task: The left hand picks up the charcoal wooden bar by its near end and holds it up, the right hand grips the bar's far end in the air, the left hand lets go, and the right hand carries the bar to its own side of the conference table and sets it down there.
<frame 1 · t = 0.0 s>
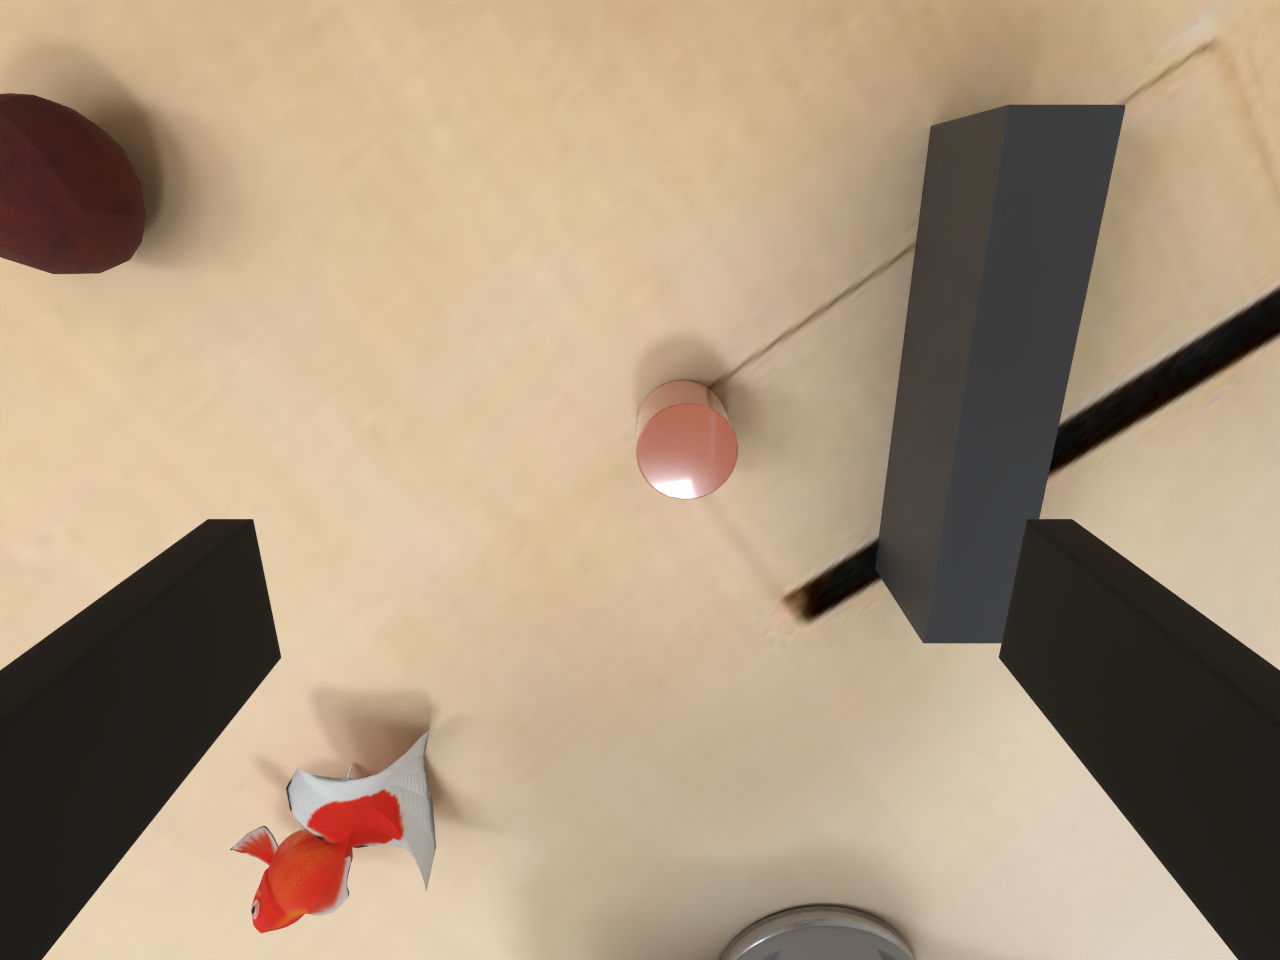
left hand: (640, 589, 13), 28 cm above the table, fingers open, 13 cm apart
dark red round piece: (104, 192, 36), on the table
glossy pink cylinder: (681, 424, 41), on the table
bar: (941, 370, 40), on the table
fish: (363, 780, 49), on the table
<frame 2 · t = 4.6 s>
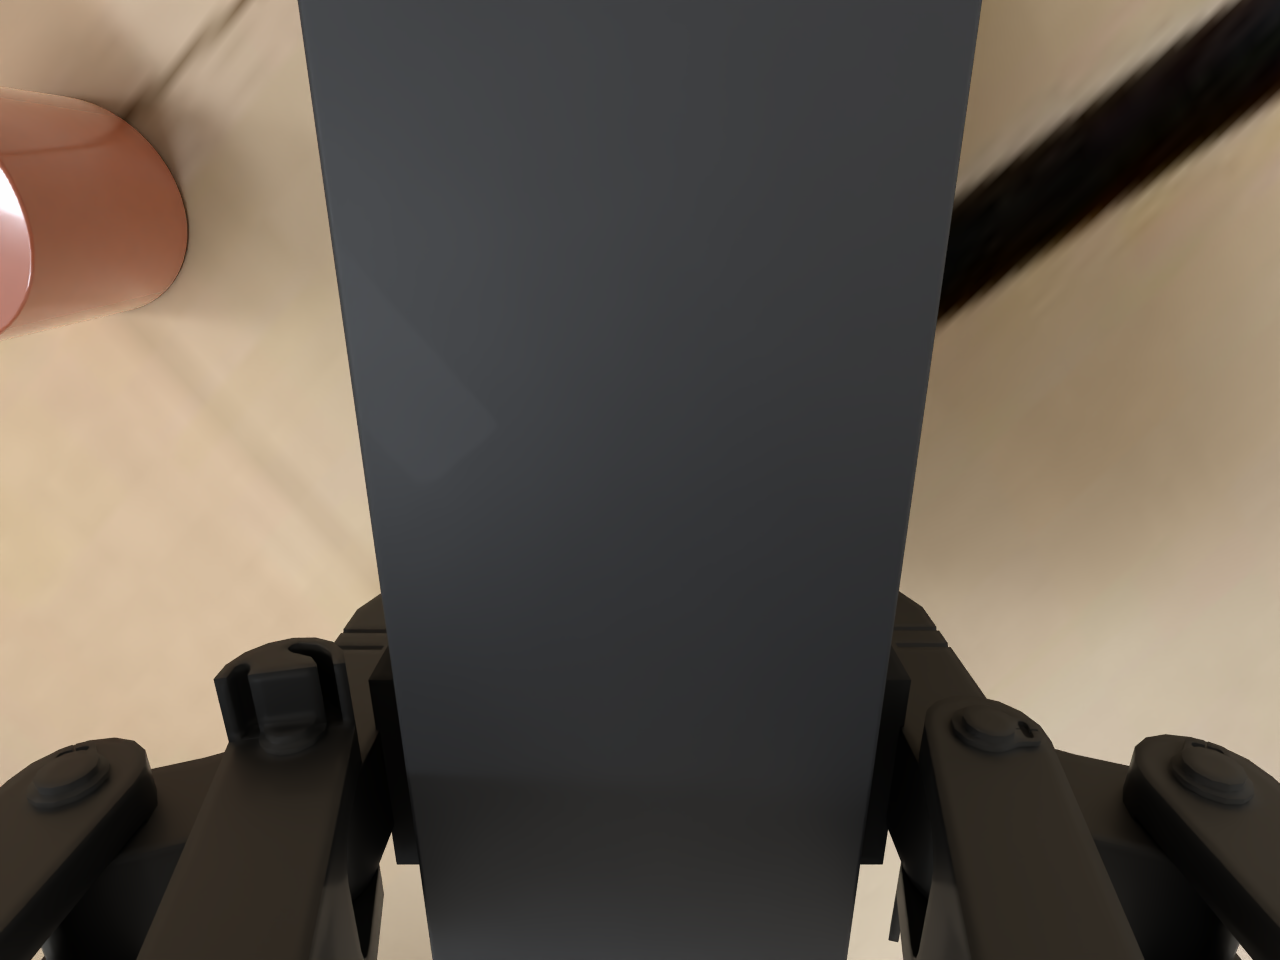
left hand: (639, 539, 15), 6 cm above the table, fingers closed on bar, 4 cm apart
glossy pink cylinder: (85, 209, 18), on the table
bar: (639, 61, 12), point 6 cm above the table, touching left hand
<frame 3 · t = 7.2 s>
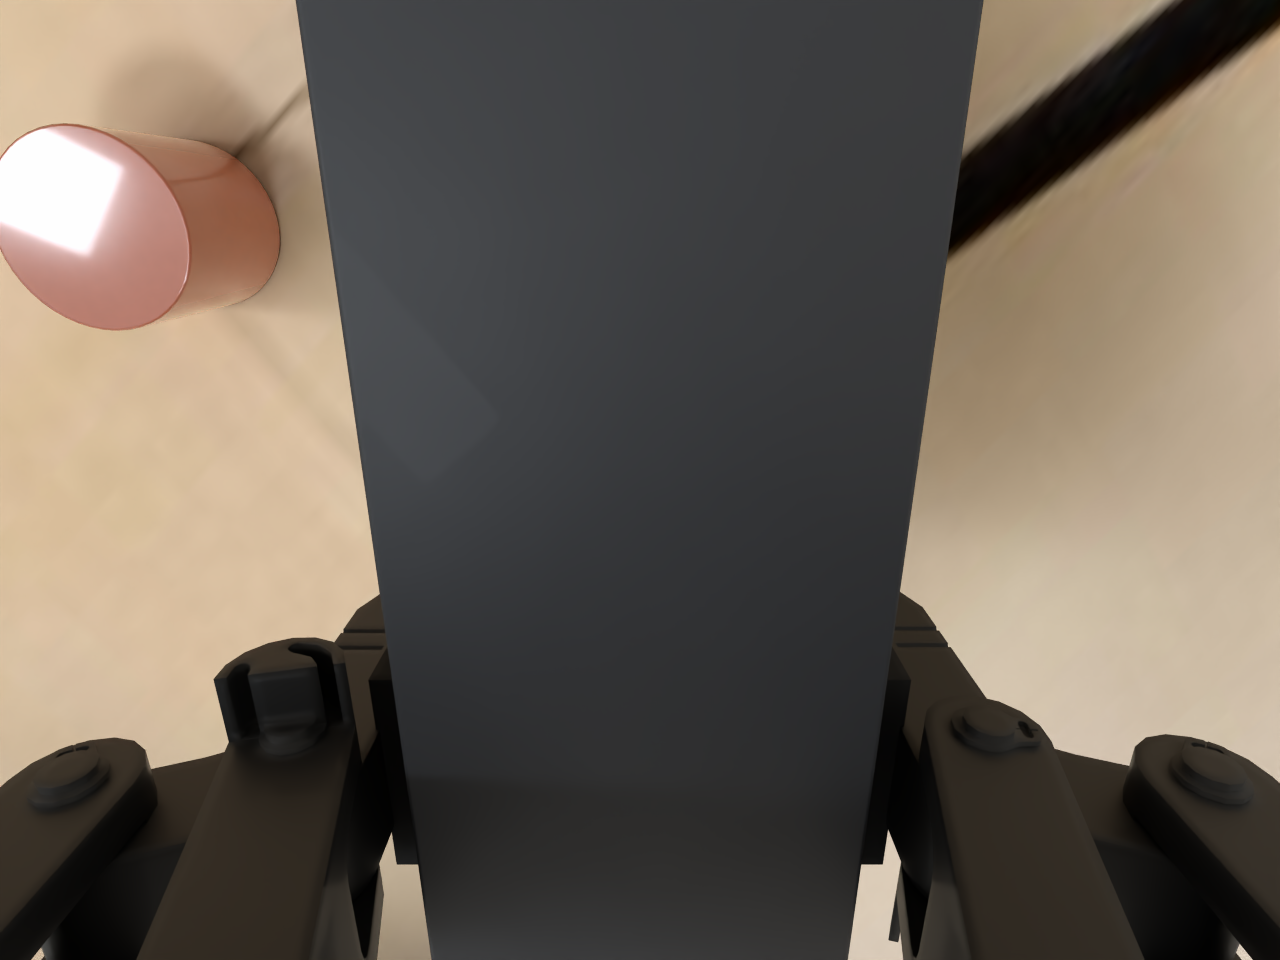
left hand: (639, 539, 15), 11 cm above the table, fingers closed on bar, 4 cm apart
glossy pink cylinder: (200, 226, 23), on the table
bar: (639, 60, 12), point 11 cm above the table, touching left hand
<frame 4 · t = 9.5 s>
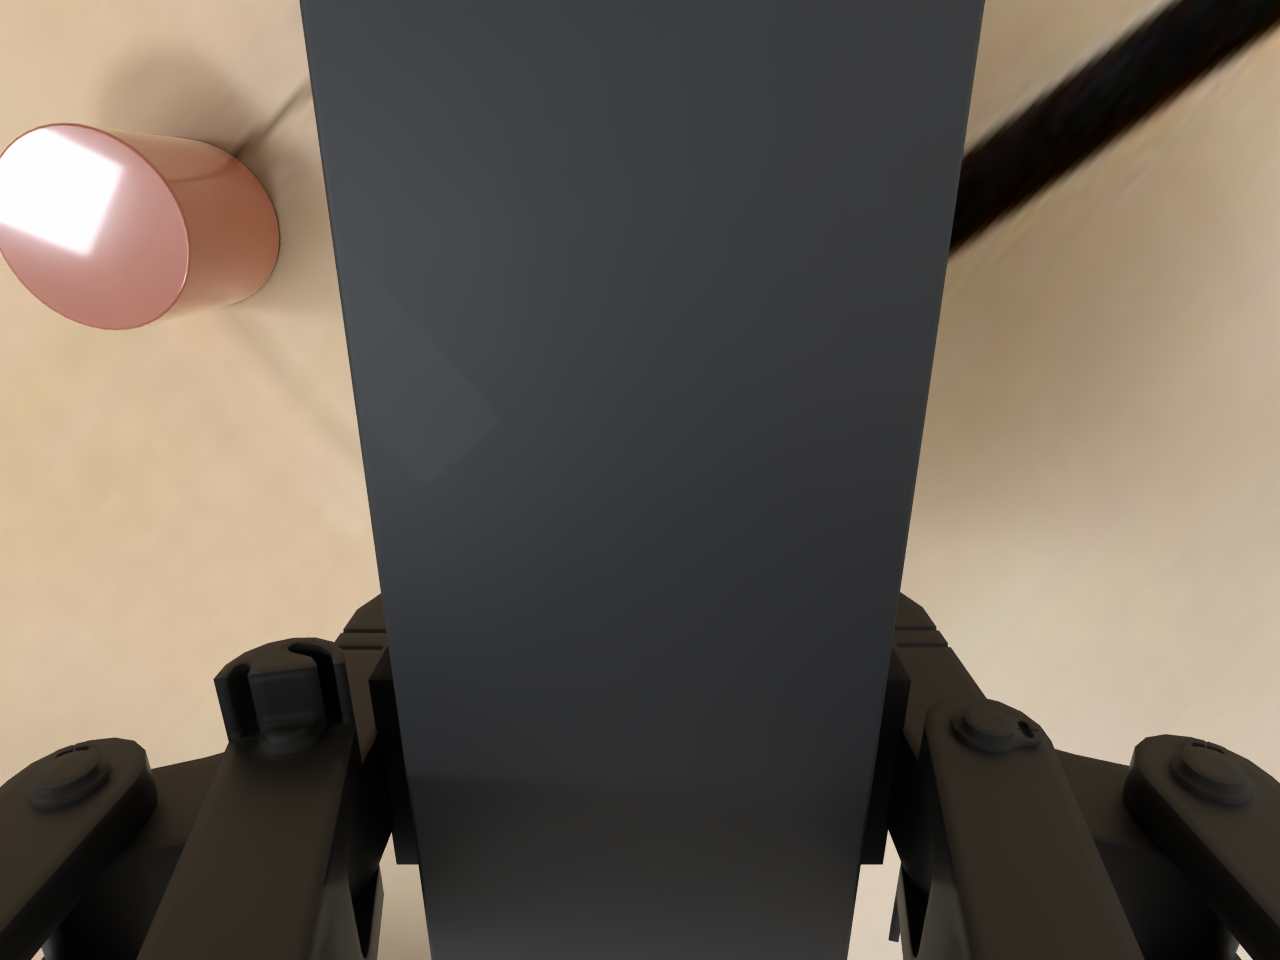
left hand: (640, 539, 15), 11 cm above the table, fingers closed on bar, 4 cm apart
glossy pink cylinder: (200, 225, 23), on the table
bar: (640, 61, 12), point 11 cm above the table, touching left hand, right hand
when the left hand's fingers open (11 cm above the table, at t = 10.3 s): bar stays where it is, held by the right hand.
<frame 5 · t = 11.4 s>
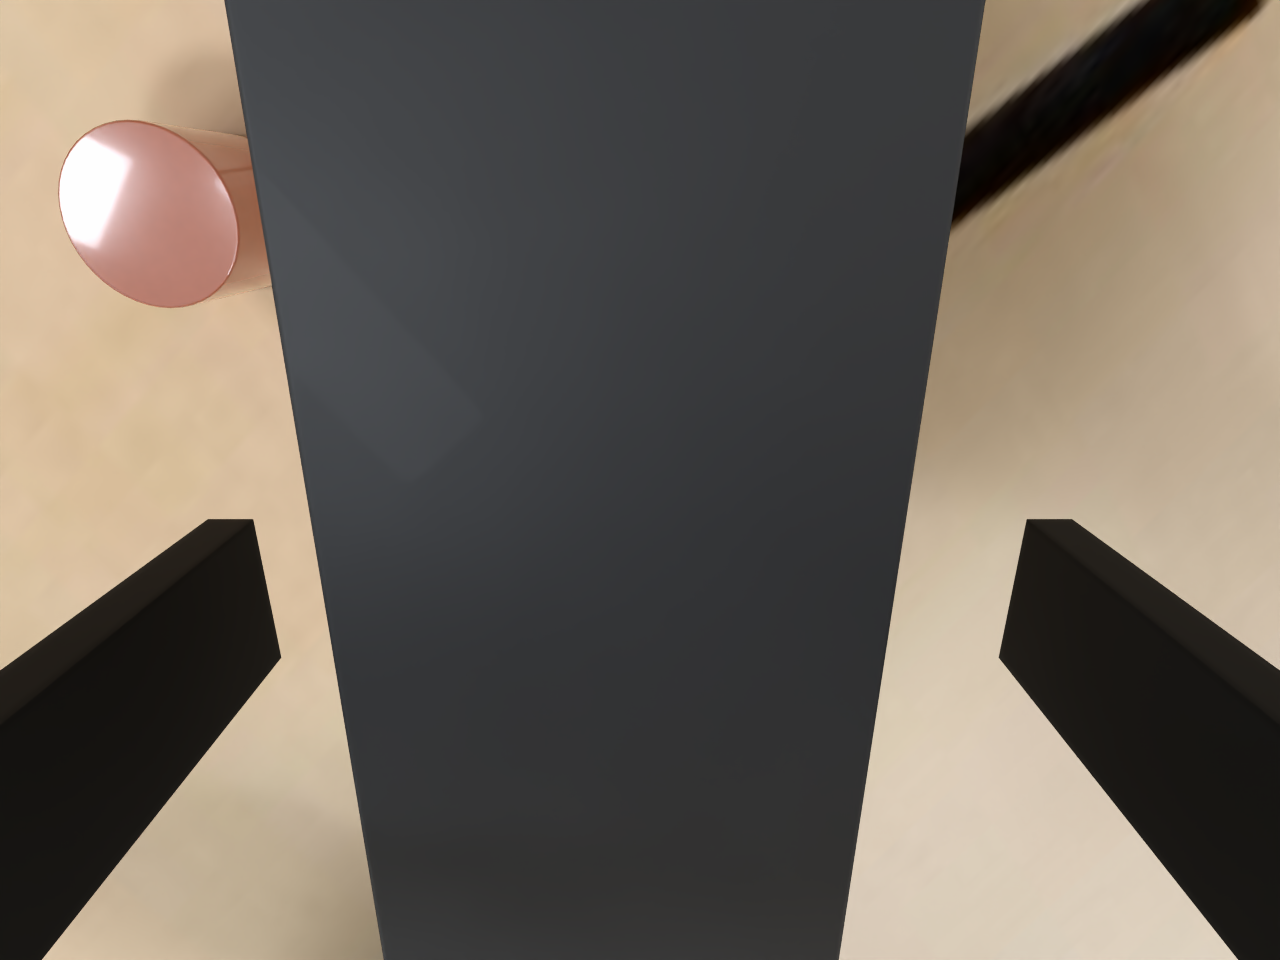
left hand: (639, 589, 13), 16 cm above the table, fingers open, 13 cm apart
glossy pink cylinder: (240, 213, 25), on the table
bar: (623, 56, 11), point 14 cm above the table, touching right hand
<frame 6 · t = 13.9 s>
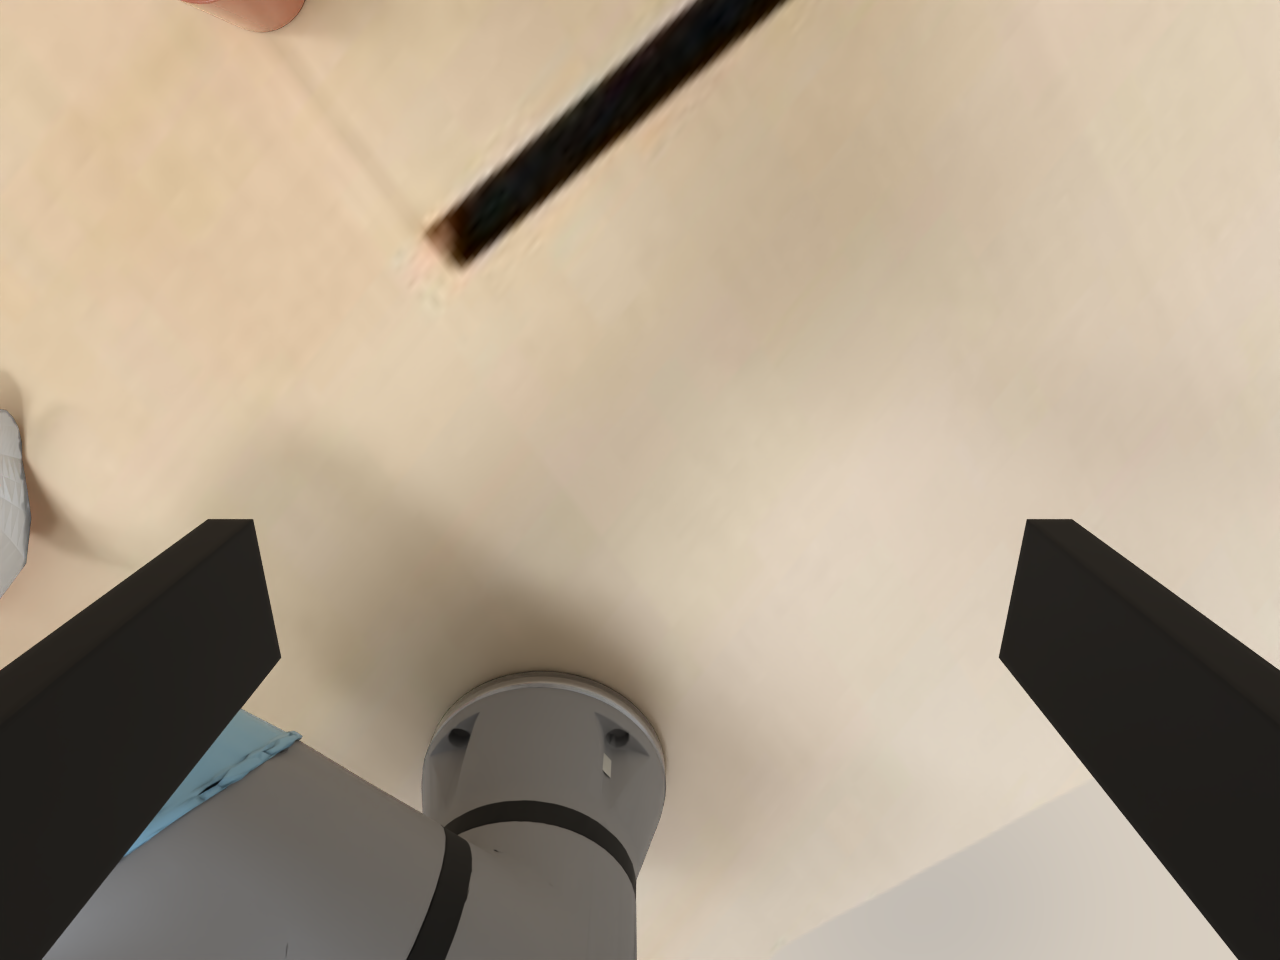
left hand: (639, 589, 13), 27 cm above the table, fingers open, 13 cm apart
when the right hand's fingers open (5 cm above the table, at t = 18.6 s): bar stays where it is, on the table.
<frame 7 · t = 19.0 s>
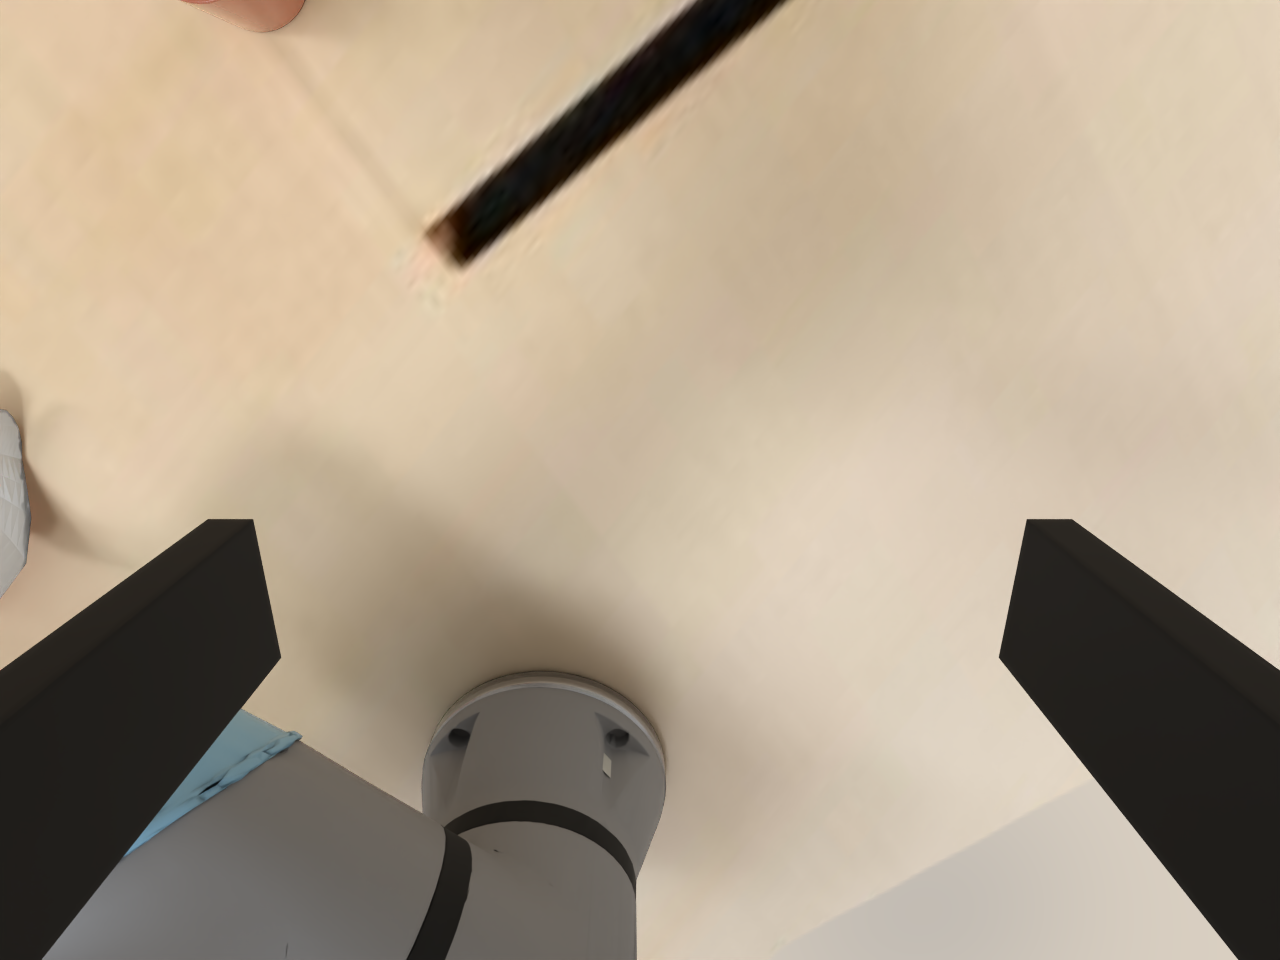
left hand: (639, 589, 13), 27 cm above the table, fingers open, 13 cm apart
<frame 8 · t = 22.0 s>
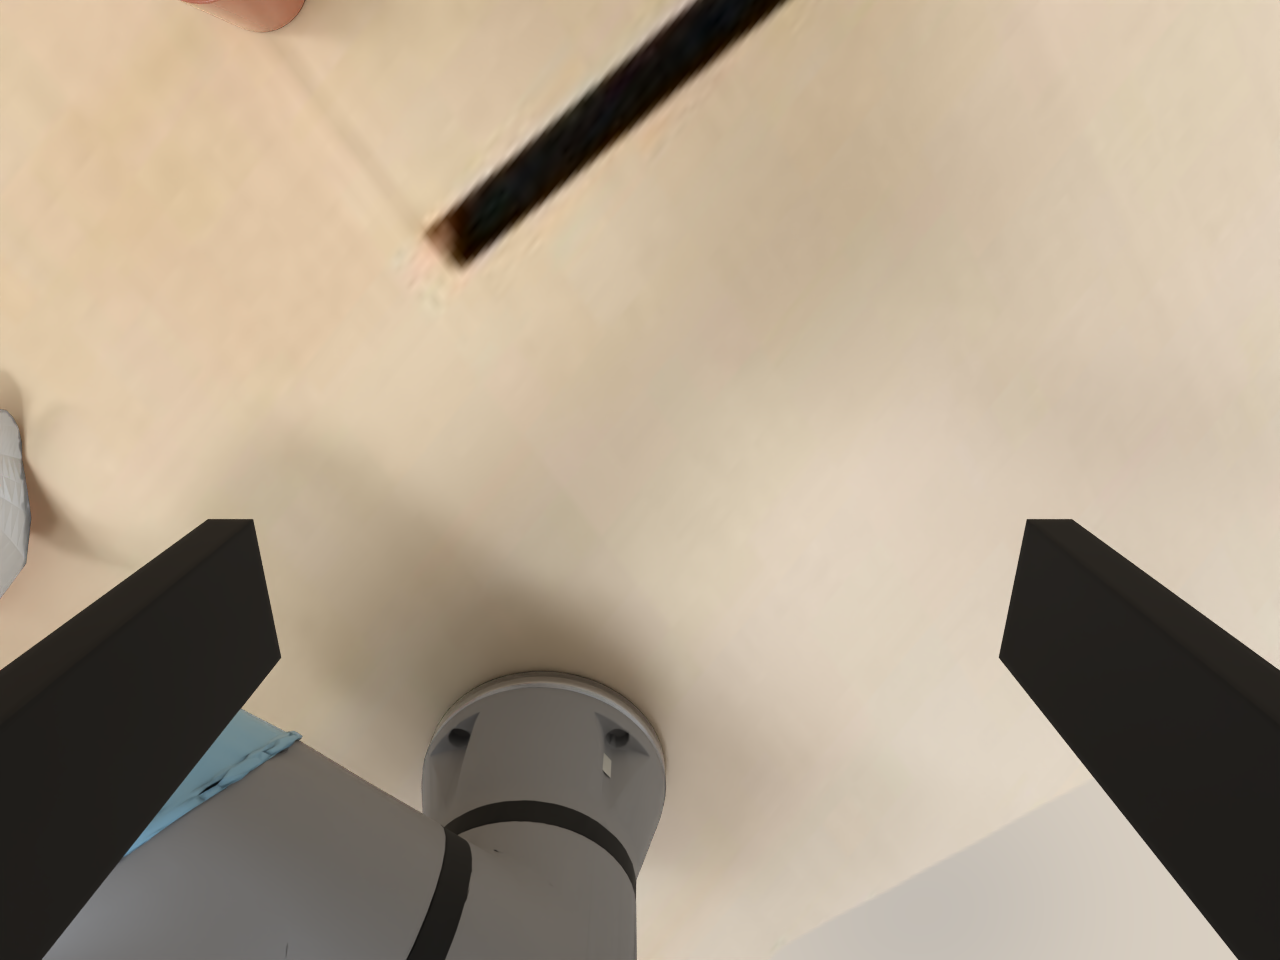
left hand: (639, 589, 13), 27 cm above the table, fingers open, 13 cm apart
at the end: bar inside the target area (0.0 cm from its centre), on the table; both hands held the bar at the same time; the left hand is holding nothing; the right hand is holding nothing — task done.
